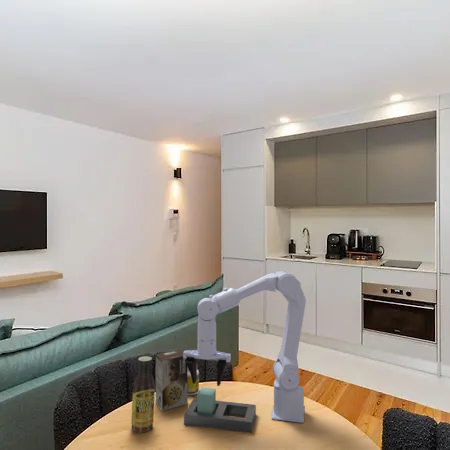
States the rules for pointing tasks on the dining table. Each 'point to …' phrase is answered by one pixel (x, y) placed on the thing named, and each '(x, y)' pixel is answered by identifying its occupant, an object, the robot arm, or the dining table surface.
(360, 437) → the dining table surface
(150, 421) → the sauce bottle
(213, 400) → the peg
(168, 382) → the coffee box
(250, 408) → the grey peg holder tray
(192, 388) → the supplement bottle
